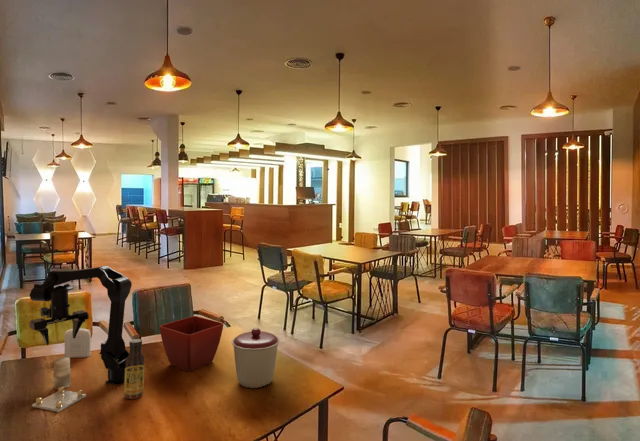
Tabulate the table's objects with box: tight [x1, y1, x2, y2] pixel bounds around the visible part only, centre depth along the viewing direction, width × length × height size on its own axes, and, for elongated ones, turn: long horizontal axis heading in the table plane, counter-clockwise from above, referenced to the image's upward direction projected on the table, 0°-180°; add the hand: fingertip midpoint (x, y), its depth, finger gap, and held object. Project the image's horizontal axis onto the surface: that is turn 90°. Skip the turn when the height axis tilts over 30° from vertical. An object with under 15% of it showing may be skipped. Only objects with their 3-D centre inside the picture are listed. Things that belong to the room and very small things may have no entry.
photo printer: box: [64, 327, 92, 359], centre depth 178 cm, size 10×4×12 cm, turn 98°
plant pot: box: [159, 315, 224, 372], centre depth 172 cm, size 19×19×17 cm
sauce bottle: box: [123, 338, 145, 400], centre depth 143 cm, size 6×6×20 cm
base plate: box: [31, 386, 87, 413], centre depth 139 cm, size 11×11×2 cm
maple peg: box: [53, 356, 71, 390], centre depth 150 cm, size 5×5×10 cm
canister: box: [231, 327, 281, 389], centre depth 156 cm, size 18×18×21 cm
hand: (60, 341), depth 158 cm, fingers open, 9 cm apart
